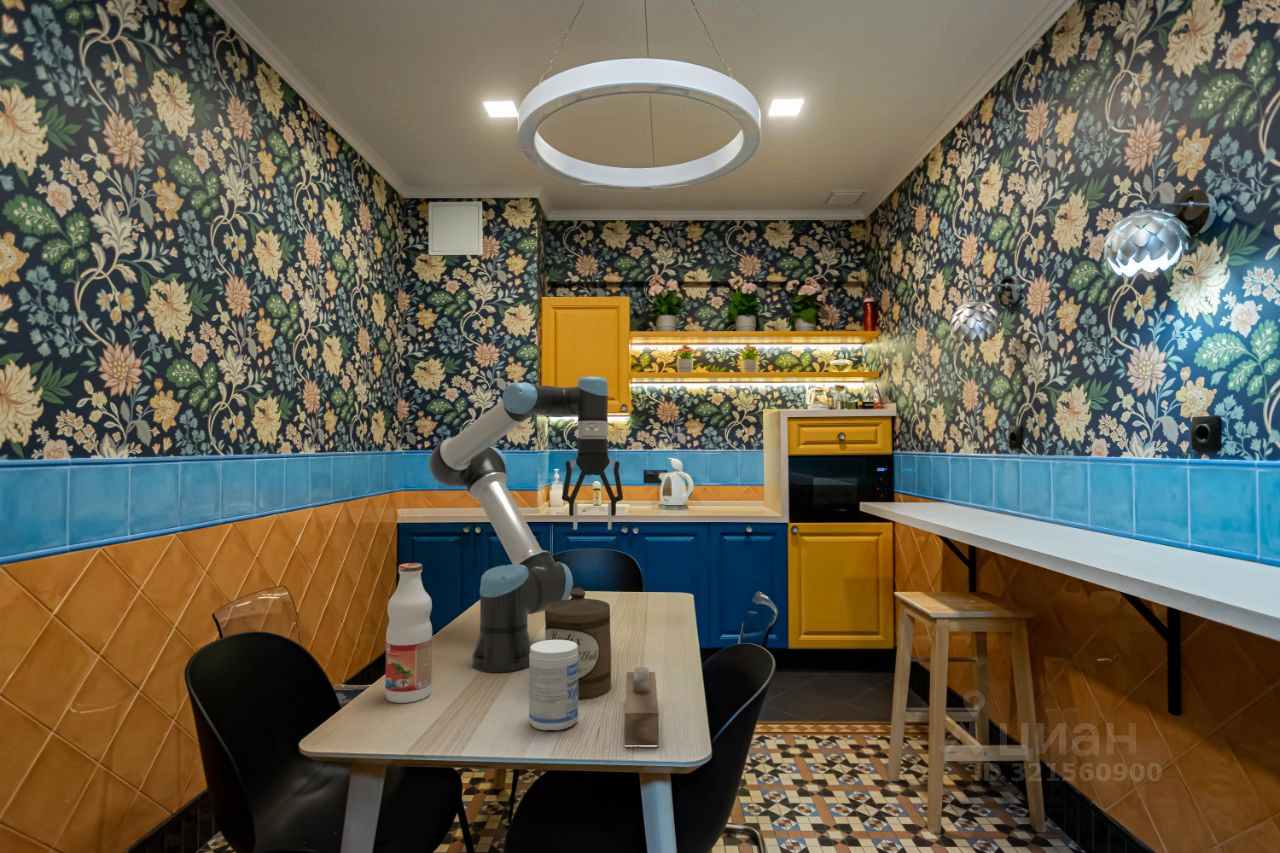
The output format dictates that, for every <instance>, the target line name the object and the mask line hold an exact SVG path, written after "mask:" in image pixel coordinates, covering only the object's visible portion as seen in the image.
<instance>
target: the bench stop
mask: <svg viewBox="0 0 1280 853" xmlns="http://www.w3.org/2000/svg"><path fill="white" fill-rule="evenodd" d="M656 678H657V677H656V671H650V670H649V668H647V667H643V666H641V667H634V668H633V671H626V679H625V700H624V746H625V745H659V740H660V739H659V735H660V733H659V731H660V730H659V725H660V724H659V715H660V714H659V704H658V692H657V679H656ZM659 746H660V745H659Z"/></svg>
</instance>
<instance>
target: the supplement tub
mask: <svg viewBox="0 0 1280 853" xmlns="http://www.w3.org/2000/svg"><path fill="white" fill-rule="evenodd" d="M529 655H530V656H529V667H528V670H529V672H528V673H529V674H528V675H529V676H528V677H529V679H528V680H529V682H528V684H529V685H528V688H529V690H528V691H529V692H528V693H529V694H528V698H529V699H528V700H529V701H528V721H529V723H530V724H531V726H532V727H533V728H535V729H537V730H540V729H541V731H546V730H555V731H562V730H565V729H568V727H569V728H571V727H572V726H574V725H575V724H576V723H577V722H578V720H579V699H578V646H577V644H576V643H575V642H572V641H568V640H546V641H545V640H540V641H537V642H535V643H532V645H531V647H530V654H529Z"/></svg>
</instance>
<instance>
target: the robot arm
mask: <svg viewBox="0 0 1280 853" xmlns="http://www.w3.org/2000/svg"><path fill="white" fill-rule="evenodd" d="M608 405H609V388H608V380H607V379H606V378H604V377H602V376H582V377H580V378H579V379H578V382H577V386H568V387H564V386H562V387H561V386H553V385H544V384H543V385H542V384H537V383H531V382H530V383H529V382H525V381H523V382H512V383H510V384H508V385H507V386H506V387H505V390H504V391H503V393H502V400H501V401H499V402H497V404H495V405H494V406H493V407H492V408H490V409H489V410H488V411H486V412H485V413H484V414H482V415H481V416H480V417H478V418H477V419H476V420H475V421H473V422H472V423H471V424H470V425H468V426H467V427H466V428H465V429H463V430H462V431H460V433H458V434H457V435H455V436H454V437H449V438H446V439H444V440H443V441H442V442H440V443H439V444H438V445H437V446H436V447H435V448H434V449H433V450H432V451H431V452H432V453H431V454H430V457H429V463H428V464H429V466H428V467H429V470H430V473H431V475H432V477H433V478H434V479H435V481H437V482H439V484H442V485H444V486H447V487H465V488H466V491H467V492H468V494H469V496H470V497H471V498H473V499H477V500H478V501H479V503H480V505H481V507H482V508H483V511H484V512H485V514H486V516H487V518H488V520H489V522H490V524H491V525H492V527H493V529H494V531H495V533H496V536H497V537H498V539H499V541H500V543H501V545H502V546H503V548H504V550H505V552H506V553H507V556H508V558H509V560H510V562H511V563H512V564H511V563H510V564H507V565H504V564H503V565H499V566H495V567H492V568H489V569H488V570H486V571H484V573H482V575H481V578H480V587H479V595H480V596H479V600H480V602H479V605H480V606H479V607H480V609H479V610H480V611H479V612H480V614H479V615H480V616H479V620H480V621H479V636H478V638H477V641H476V644H475V646H474V647H475V648H474V650H473V653H472V658H471V659H472V664H471V665H472V668H474V669H475V670H478V671H481V672H487V673H507V672H508V673H510V672H515V671H520V670H524V669H526V668H529V656H530V655H529V654H530V647H531V645H533V643H532V641H531V637H530V634H529V631H528V630H529V629H528V618H529V615H532V614H536V613H540V612H545V606H546V605H547V604H550V603H552V602H556V601H561V600H568V599H570V597H571V596H570V591H571V590H573V586H574V580H573V579H574V578H573V575H572V572H571V570H570V568H569V567H568V565H567V564H565V563H562V562H560V561H555V559H554V557H553V556H552V554H551V552H550V551H548V550H543V549H542V548H541V546H540V544H539V542H538V541H537V539H536V537H535V535H534V534H533V531H532V530H531V528H530V527H529V525H528V523H527V520H526V518H525V517H524V516H523V514H522V512H521V510H520V509H519V506H518V504H517V503H516V501H515V499H514V497H513V496H512V494H511V492H510V491H509V489H508V487H507V486H506V483H507V481H508V471H509V468H508V467H507V466H508V461H507V458H506V456H505V454H504V453H503V452H502V451H501V450H500V449H499V448H497V447H495V446H492V445H493V444H495V443H496V442H497V441H499V440H500V439H502V438H503V437H505V436H506V435H507V434H508V433H509V432H511V431H512V430H514V429H515V428H516V427H518V426H519V425H521V423H524V422H525V421H526V420H527V419H529V418H530V417H532V416H534V415H538V416H547V417H550V418H551V417H553V418H555V417H556V418H562V417H572V416H573V417H574V416H575V417H577V436H578V437H579V439H578V441H577V457H576V459H574V460H571V461H570V460H567V461H565V464H564V465H565V470H566V472H565V477H564V483H563V489H562V495H561V500H562V501H565V502H567V503H568V515H569V517H573V518H572V521H573V522H572V523H573V524H572V525H573V527H572V529H573V530H575V531H576V530H577V529H578V502H575V501H576V498H577V496H578V494H579V491H580V489H581V487H582V485H583V483H584V480H585V478H586V476H591V475H593V476H599V478H600V479H601V482H602V483H603V486H604V489H605V491H606V492H607V495H608V497H609V500H610V502H608V503H607V530H612V517H615V516H616V514H617V502H621V501H623V499H624V495H623V489H622V483H621V477H620V461H618V460H617V461H616V460H610V459H609V453H608V452H609V451H608V450H609V449H608V447H609V446H608V445H609V444H608V443H609V441H608V439H606V438H607V437H608V435H609V434H608V433H609V430H608V429H609V420H608V413H609V412H608V409H609V408H608V407H609V406H608ZM576 465H577V466H578V468H579V469H580V471H581V472H580V474H579V476H578V479H577V481H576V483H575V486H574V488H573V490H572V492H571V495H570V496H569V492H570V485H571V481H572V480H571V479H572V475H573V474H572V473H573V470H574V469H575V468H576ZM609 465H610V468H611V469H612V470H613V475H614V482H615V487H616V494H617V496H615V494H614V491H613V489H612V487H611V485H610V482H609V480H608V478H607V475H606V473H605V470H606V469H607V468H608V466H609Z"/></svg>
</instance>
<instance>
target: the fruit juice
mask: <svg viewBox="0 0 1280 853" xmlns="http://www.w3.org/2000/svg"><path fill="white" fill-rule="evenodd" d="M422 572H423V564H422V563H418V562H411V563H407V562H406V563H402V564H399V565H398V574H399V580H398V584H397V587H396V589H395V591H394V593H393V595H392V596H391V597H390V599H389V600H388V603H387V616H388V619H389V621H388V625H387V627H386V634H385V679H384V680H385V683H384V684H385V685H384V686H385V689H384V690H385V691H384V693H385V695H384V696H385V699H386V700H387V701H388V702H391V703H396V704H406V703H414V702H419V701H421V699H422V700H424V699H425V698H427V697H429V696H430V695H431V692H432V682H433V681H432V678H433V677H432V673H433V671H432V670H433V666H432V665H433V663H432V662H433V660H432V659H433V627H432V626H433V625H432V623H431V620H430V616H431V613H432V608H433V604H432V602H433V601H432V597H431V596H430V595H429V593H428V592H427V591H426V590H425V588H424V586H423V580H422V575H421V574H422Z"/></svg>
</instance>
